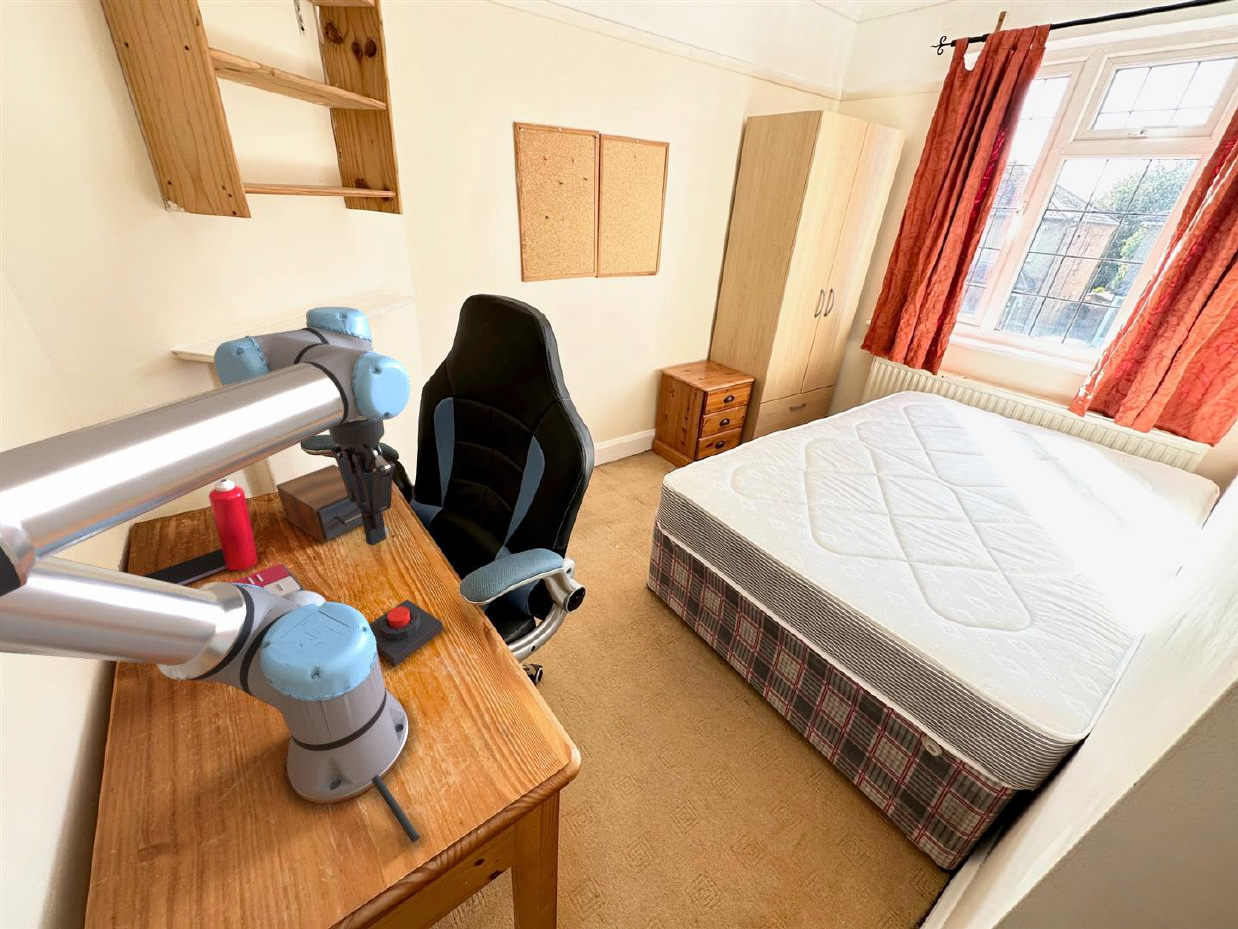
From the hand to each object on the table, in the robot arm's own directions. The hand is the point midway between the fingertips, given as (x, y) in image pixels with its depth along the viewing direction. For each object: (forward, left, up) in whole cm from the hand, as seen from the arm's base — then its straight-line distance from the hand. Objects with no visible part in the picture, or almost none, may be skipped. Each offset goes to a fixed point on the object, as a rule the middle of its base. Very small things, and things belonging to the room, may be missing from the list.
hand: (376, 540), depth 83 cm
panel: (-6, +2, -18) cm, 19 cm away
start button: (-6, +2, -14) cm, 15 cm away
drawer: (+35, -11, -17) cm, 41 cm away
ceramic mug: (+7, +11, -18) cm, 22 cm away
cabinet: (+39, -11, -18) cm, 45 cm away
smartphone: (+42, +17, -18) cm, 49 cm away
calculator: (+23, +14, -18) cm, 32 cm away
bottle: (+38, +9, -18) cm, 43 cm away
